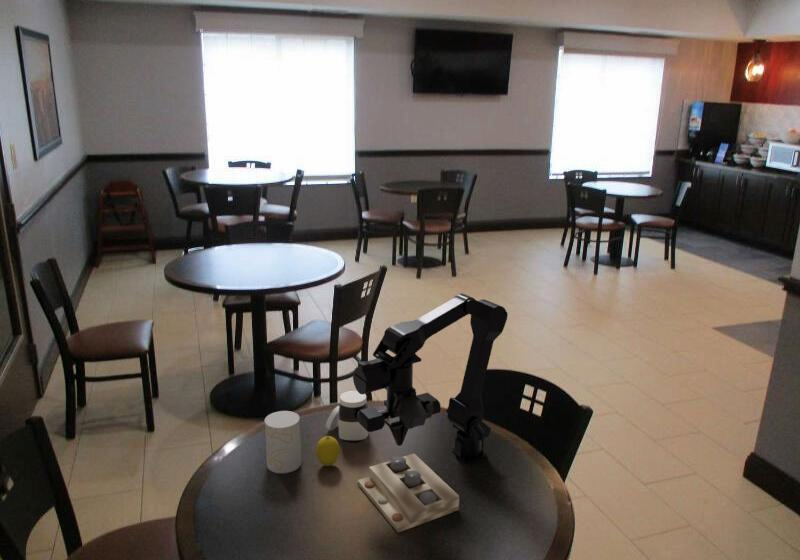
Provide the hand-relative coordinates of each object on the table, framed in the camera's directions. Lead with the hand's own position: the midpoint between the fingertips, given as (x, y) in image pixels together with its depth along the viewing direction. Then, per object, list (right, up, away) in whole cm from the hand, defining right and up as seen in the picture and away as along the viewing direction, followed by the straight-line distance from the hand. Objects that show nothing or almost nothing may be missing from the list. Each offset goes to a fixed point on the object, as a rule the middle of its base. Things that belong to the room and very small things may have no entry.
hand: (399, 444), depth 140 cm
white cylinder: (-28, -7, +9) cm, 30 cm away
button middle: (+3, -8, -4) cm, 9 cm away
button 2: (+6, -11, -9) cm, 15 cm away
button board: (+2, -11, -3) cm, 11 cm away
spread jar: (-14, -3, +22) cm, 26 cm away
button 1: (0, -6, +2) cm, 6 cm away
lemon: (-17, -7, +8) cm, 20 cm away
